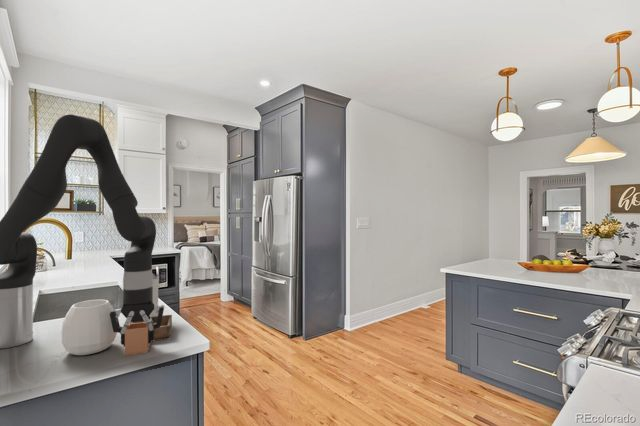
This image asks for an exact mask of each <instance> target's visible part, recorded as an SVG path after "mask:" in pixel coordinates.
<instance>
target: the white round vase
mask: <svg viewBox="0 0 640 426" xmlns="http://www.w3.org/2000/svg"><path fill="white" fill-rule="evenodd" d="M114 309H115V308H114V307H113V306H112V304H111V302H110V301H109V300H107V299H89V300H84V301H79V302H77V303H76V302H75V303H73V304H72V305H71V307H70V308H69V310H68V311H67V313H66V314H65V316H64V319H63V321H62V325H61V327H62V328H61V343H62V346H63V347H64V350H65V351H66V352H67V353H69V354H71V355H74V356H86V355H91V354H96V353H100V352H102V351H105V350H106V349H108V348H109V347H110V346H112V344H113V343H114V341H115V339H116V337H117V334H118V332H116V333H115V332H113V328H112V323H111V318H110V312H111V311H112V310H114Z"/></svg>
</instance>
